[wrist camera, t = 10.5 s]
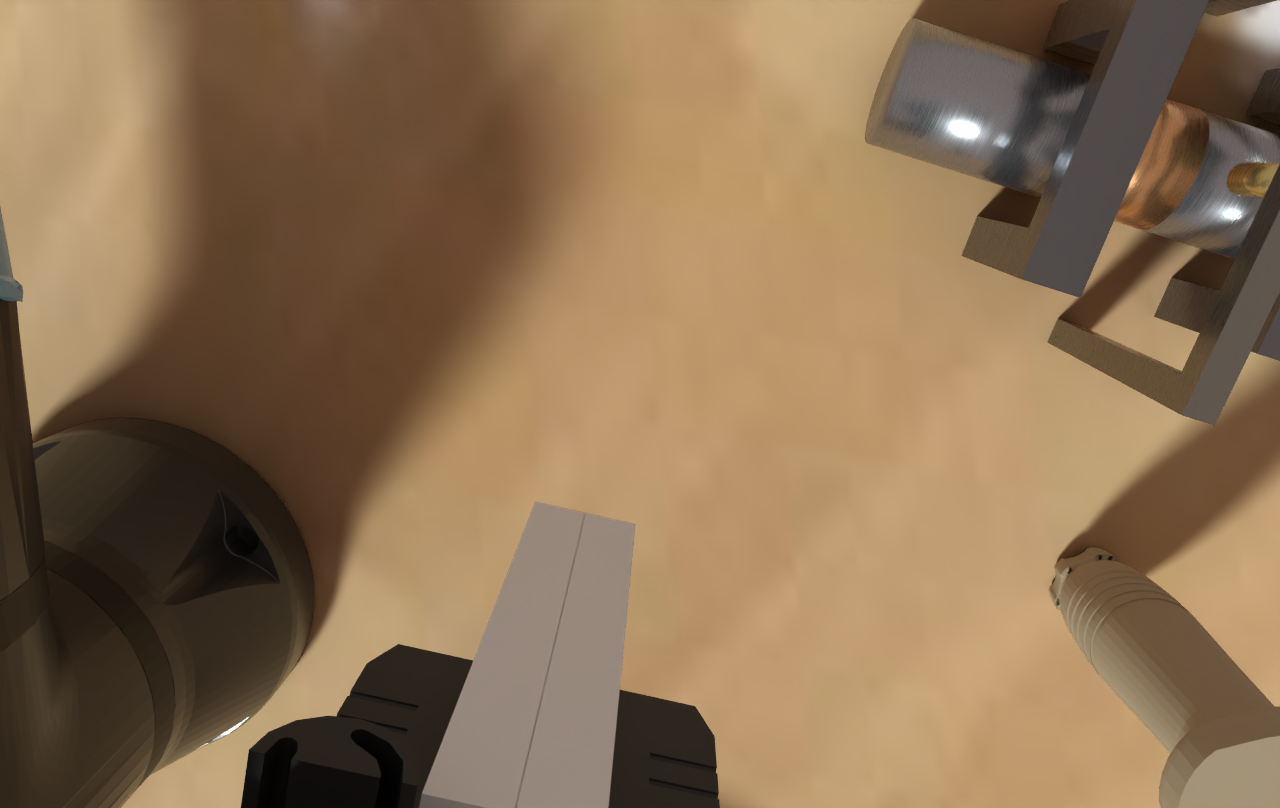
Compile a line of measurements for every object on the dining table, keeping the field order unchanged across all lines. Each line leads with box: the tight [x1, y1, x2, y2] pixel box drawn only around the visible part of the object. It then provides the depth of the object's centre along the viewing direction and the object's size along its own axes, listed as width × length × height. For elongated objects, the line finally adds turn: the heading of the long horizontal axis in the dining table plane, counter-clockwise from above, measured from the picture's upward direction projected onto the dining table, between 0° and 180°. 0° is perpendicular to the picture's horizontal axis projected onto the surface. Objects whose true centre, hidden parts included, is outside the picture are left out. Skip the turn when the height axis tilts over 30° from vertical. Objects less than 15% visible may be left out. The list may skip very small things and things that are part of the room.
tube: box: [865, 18, 1280, 259], centre depth 34 cm, size 18×4×4 cm, turn 73°
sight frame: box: [1048, 0, 1280, 425], centre depth 31 cm, size 1×14×11 cm, turn 163°
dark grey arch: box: [962, 0, 1209, 298], centre depth 33 cm, size 2×10×7 cm, turn 163°
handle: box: [1049, 547, 1280, 808], centre depth 33 cm, size 5×6×15 cm
